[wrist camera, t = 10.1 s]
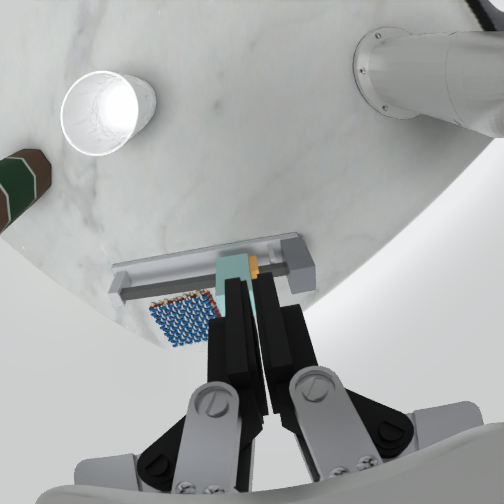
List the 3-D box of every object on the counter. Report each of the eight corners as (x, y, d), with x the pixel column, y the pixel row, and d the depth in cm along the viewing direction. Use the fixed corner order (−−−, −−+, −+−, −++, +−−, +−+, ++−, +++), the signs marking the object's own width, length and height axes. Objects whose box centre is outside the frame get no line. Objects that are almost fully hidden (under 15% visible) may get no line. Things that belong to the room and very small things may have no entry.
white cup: (154, 140, 32) (129, 162, 24) (95, 131, 31) (56, 150, 22) (169, 77, 28) (147, 75, 20) (107, 69, 27) (67, 69, 18)
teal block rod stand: (300, 231, 41) (315, 264, 34) (301, 255, 43) (315, 290, 36) (113, 264, 41) (96, 299, 34) (122, 285, 43) (109, 321, 36)
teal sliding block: (247, 253, 38) (252, 290, 32) (251, 277, 40) (257, 316, 34) (216, 258, 38) (215, 295, 32) (222, 282, 40) (223, 321, 34)
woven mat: (230, 329, 50) (231, 338, 49) (175, 341, 51) (174, 350, 49) (209, 284, 45) (208, 293, 43) (148, 300, 46) (145, 309, 44)
